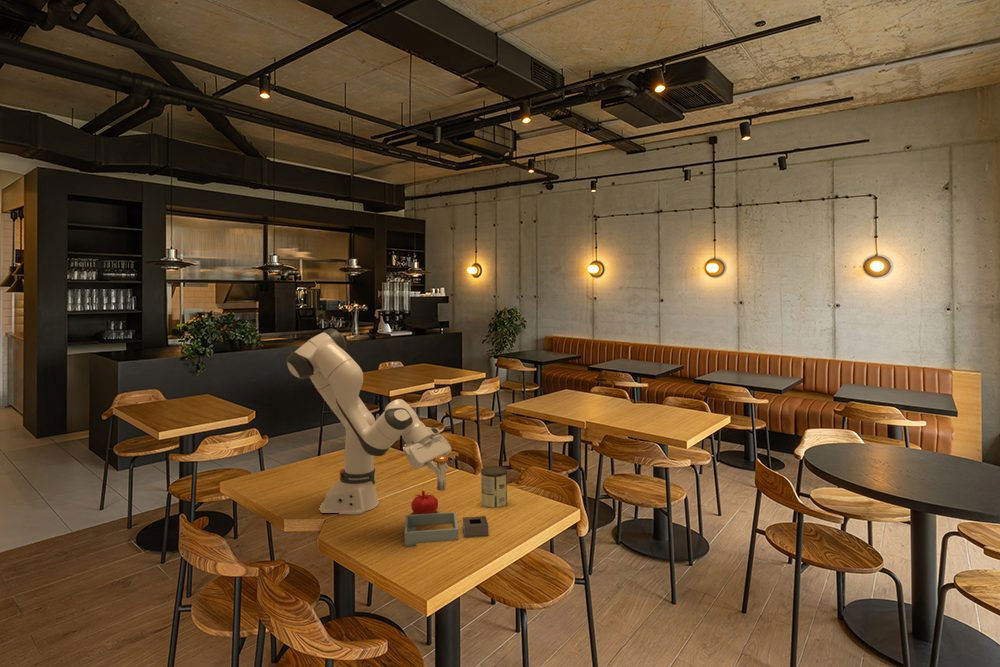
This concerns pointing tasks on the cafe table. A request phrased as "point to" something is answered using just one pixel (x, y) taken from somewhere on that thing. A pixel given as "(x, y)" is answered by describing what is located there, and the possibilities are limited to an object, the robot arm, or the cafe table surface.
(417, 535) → the tray
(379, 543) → the cafe table surface
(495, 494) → the coffee can
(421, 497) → the red round piece
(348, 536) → the cafe table surface
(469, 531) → the dark grey socket block
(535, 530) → the cafe table surface
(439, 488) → the lock pin
